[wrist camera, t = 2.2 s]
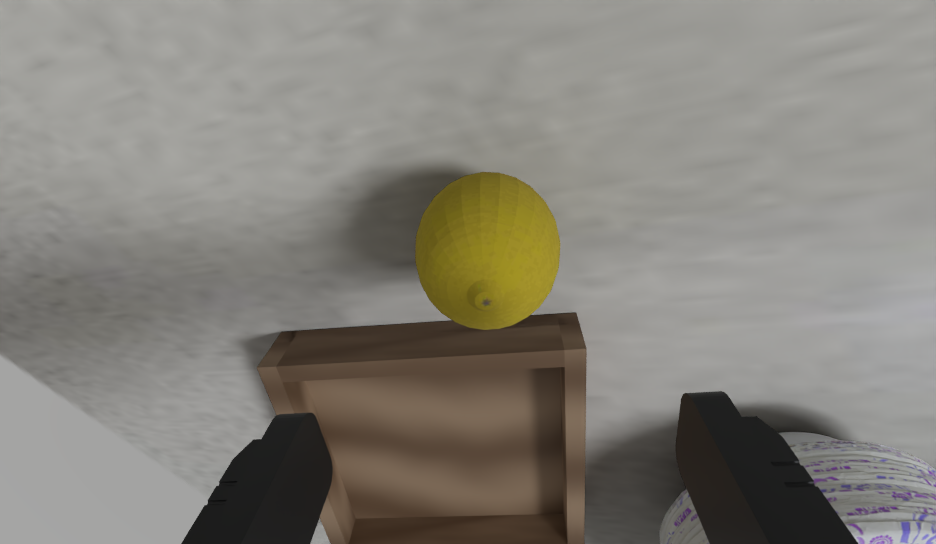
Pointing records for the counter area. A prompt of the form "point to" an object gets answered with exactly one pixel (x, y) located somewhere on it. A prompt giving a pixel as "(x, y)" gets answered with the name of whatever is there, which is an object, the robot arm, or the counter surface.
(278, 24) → the counter surface
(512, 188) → the lemon
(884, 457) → the paper bowls
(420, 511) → the walnut tray
